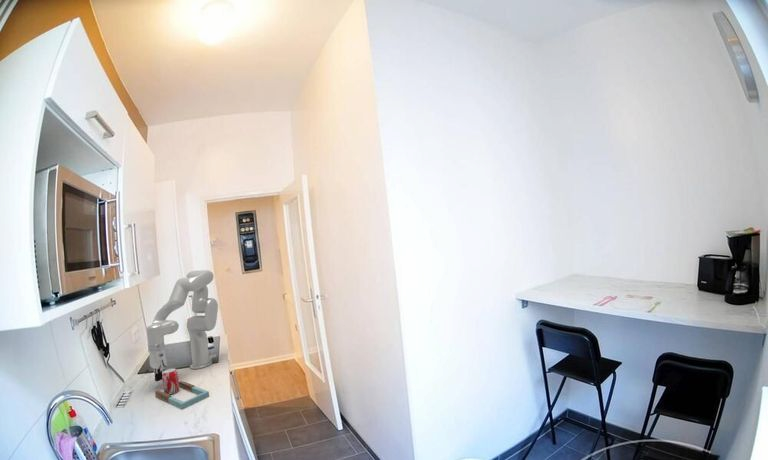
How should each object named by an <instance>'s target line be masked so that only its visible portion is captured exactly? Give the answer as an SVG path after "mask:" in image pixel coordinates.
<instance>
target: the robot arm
mask: <svg viewBox="0 0 768 460" xmlns="http://www.w3.org/2000/svg"><path fill="white" fill-rule="evenodd" d="M213 280H214V273H213V272H212V271H211V270H208V269H206V270H193V271H192V270H191V271H189V272H188V273H187V274H186V277H181V278H178V279H177V280H176V281H175V283H174V287H173V288H172V291H171V294H170V296H169V299H168V300H167V302H166V303H165V304H163V306H162V307H161V308H160V309H158V311H157V313H156V314H155V316H154V318H153V321H152V323H151V324H149V325H148V326H147V327H146V337H147V339H146V340H147V348H148V349H147V350H148V353H149V356H148V357H149V358H148V359H149V366H150V368H152V369H153V373H154V381H155V382H159V381H163V380H162V375H163V372H164V371H165V367H168V362H167V355H166V354H167V353H166V350H165V348H166V347H165V338H164V337H165V336H167V335H172V334H174V333H176V332H177V331H178V329H179V325H180V324H179V323H178V321H177V320H171V319H167V318H168V317H169V316H170V315H171V314H172V313H174V312H175V311H176V310H178V309H180V308H182V307H183V306H185V303H186V300H187V298H188V295H189V293H190V292H193V293H192V295H193V296H192V303H191V311H192V312H193V313H194V314H204V315H192V316H191V317H189V318H188V319H187V321H186V329H187V331H188V335H189V336H188V337H189V342H190V353H191V359H192V360H191V361H192V364H190V365H189V368H190V369H192V370H200V369H203V368H207V367H209V366H211V364H213V359H215V358H217V357H218V356H217V354H216V353H215V354H210V352H209V341H208V335H207V332H211V331H213V330H214V329H215V327H216V325H217V319H218V310H219V304H218V301H217V299H215V298H213V297H209V288H208V286H207V285H210V284H211V283H212V281H213ZM209 354H210V355H209Z"/></svg>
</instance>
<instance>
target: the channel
mask: <svg viewBox="0 0 768 460" xmlns="http://www.w3.org/2000/svg"><path fill="white" fill-rule="evenodd" d="M178 381H179V389H182V388H183V389H182V390H185V391H188V392H189V393H193V392H192V387H194V386H195V385H194V384H191V383H189V382H186V381H184V380H178ZM195 387H196V386H195ZM154 393H155V398H157V399H159V400H161V401H164V402H165V403H168V404H170V403H169V401H168V398H169V397H173V396H172V394H171V395H169V394H166V393H164V391H161V390H159V389H158V390H156V391H154Z"/></svg>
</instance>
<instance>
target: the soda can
mask: <svg viewBox="0 0 768 460" xmlns="http://www.w3.org/2000/svg"><path fill="white" fill-rule="evenodd" d="M161 381H162V387H163V389H162V390H163V392H164V393H166V394H169V395H170V394H171V395H174V394H176V393H177V392H178V391H179V389H180V387H179V381H180V380H179V374H178V370H177V368H175V367H172V368H171V367H170V368H167V369H164V370H163V372H162V380H161ZM173 393H174V394H173Z"/></svg>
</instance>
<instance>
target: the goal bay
mask: <svg viewBox="0 0 768 460" xmlns="http://www.w3.org/2000/svg"><path fill="white" fill-rule="evenodd" d="M191 393H193V394H196V395H195V396H193V397H191V398H189V399H186V400H185V401H183V400H181V399H178V398H176V397H174V396H172V397H169V398H168V401H169V403H168V404H170V405H173V406H174V407H176V408H178V409H181V410H184V409H185V408H188V407H190V406H192V405H195V404H197V403H199V402H201V401H202V400H205V399H206V398H208V397H210V393H209V390H207V389H206V390H205V389H203V388H200V387H197V386H194V387H192V392H191Z"/></svg>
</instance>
